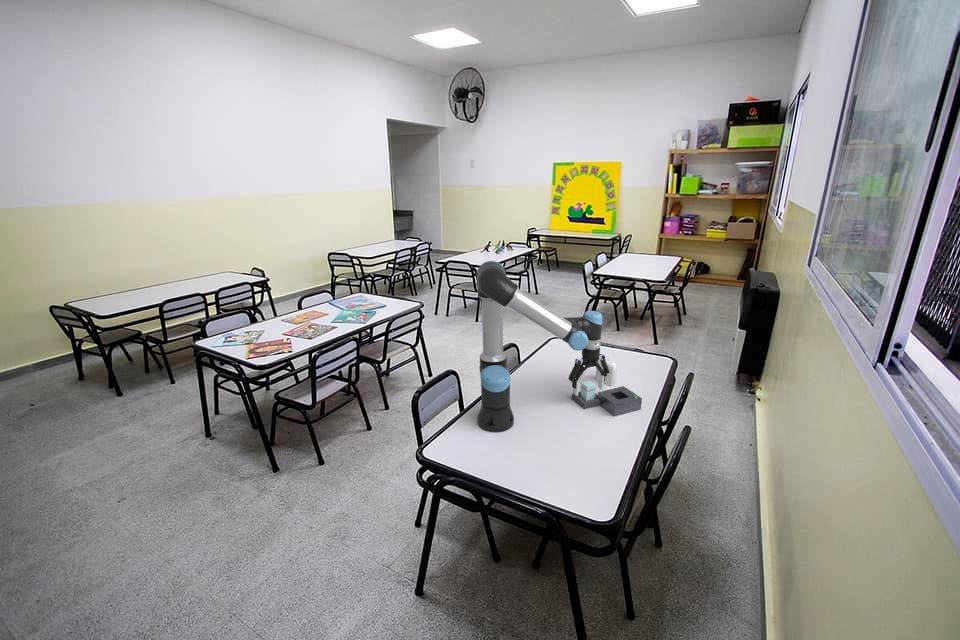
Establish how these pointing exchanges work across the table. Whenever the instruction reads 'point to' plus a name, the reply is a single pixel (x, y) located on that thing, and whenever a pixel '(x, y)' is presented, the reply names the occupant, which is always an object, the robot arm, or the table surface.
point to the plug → (588, 390)
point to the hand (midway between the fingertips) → (588, 391)
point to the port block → (619, 401)
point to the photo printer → (610, 377)
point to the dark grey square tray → (584, 403)
